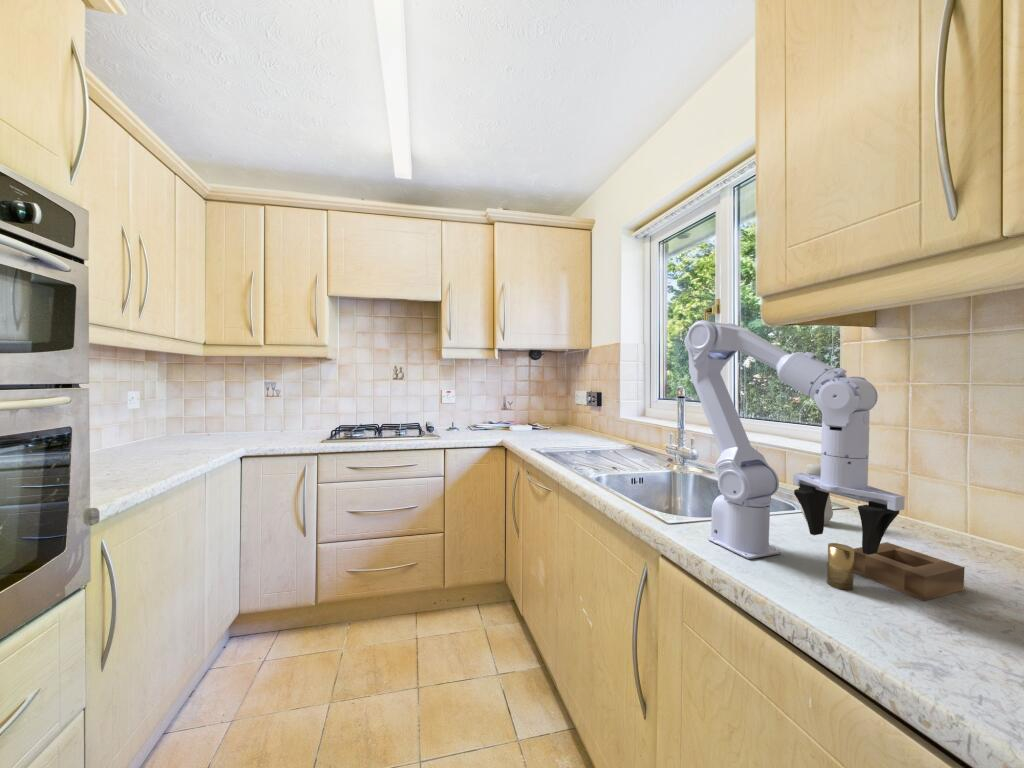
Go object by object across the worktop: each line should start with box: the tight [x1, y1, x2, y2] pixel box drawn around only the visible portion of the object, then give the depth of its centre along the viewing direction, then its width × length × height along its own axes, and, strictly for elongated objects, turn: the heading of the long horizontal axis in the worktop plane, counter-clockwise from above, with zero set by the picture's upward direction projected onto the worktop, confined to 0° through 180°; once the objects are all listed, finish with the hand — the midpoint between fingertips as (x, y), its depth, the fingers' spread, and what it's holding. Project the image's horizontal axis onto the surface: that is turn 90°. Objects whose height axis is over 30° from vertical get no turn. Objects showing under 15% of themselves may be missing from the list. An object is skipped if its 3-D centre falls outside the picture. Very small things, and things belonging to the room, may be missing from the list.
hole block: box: [853, 541, 966, 602], centre depth 67 cm, size 10×10×4 cm
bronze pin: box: [826, 542, 854, 592], centre depth 65 cm, size 3×3×6 cm
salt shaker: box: [800, 462, 834, 526], centre depth 93 cm, size 6×6×13 cm
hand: (841, 543), depth 64 cm, fingers open, 7 cm apart
